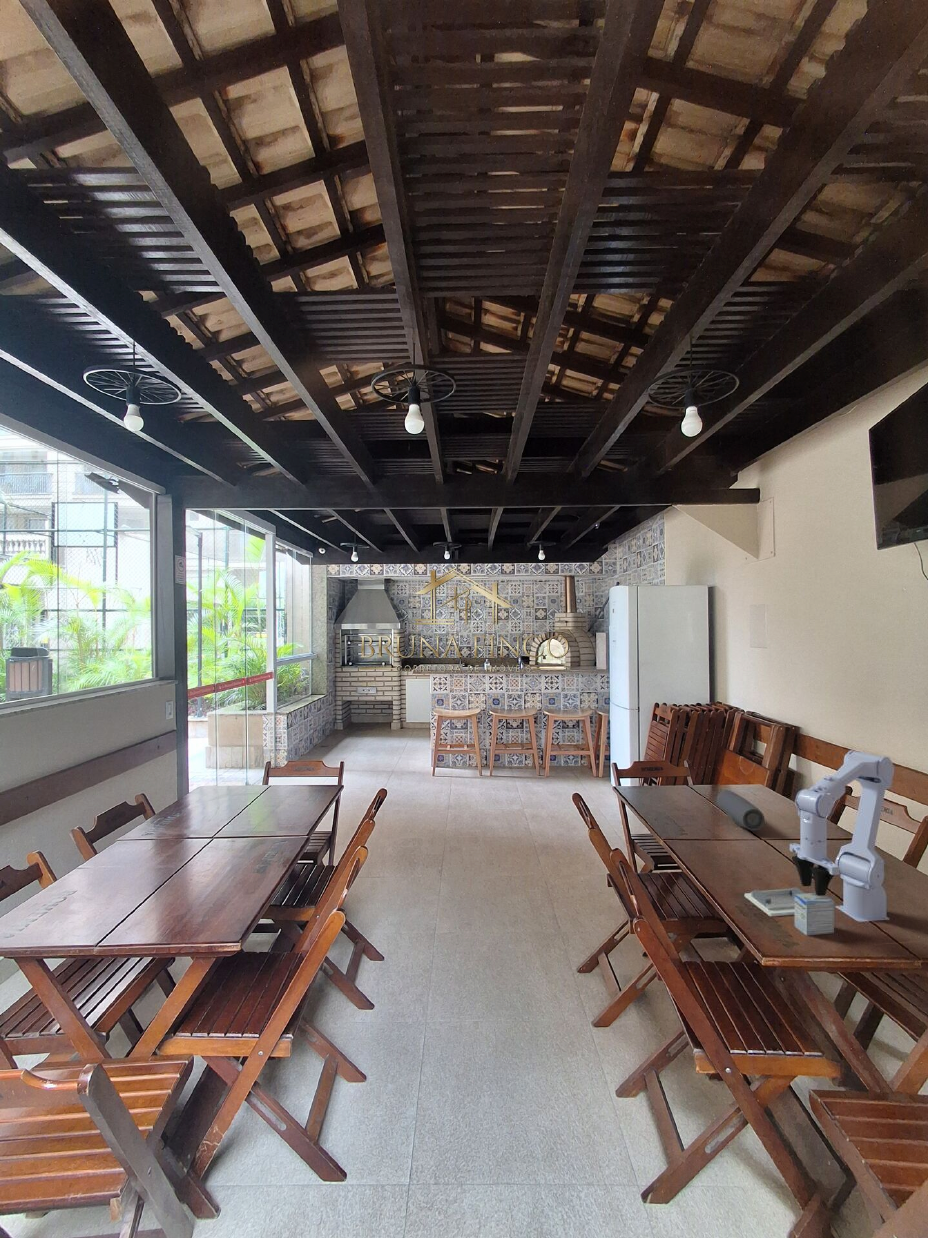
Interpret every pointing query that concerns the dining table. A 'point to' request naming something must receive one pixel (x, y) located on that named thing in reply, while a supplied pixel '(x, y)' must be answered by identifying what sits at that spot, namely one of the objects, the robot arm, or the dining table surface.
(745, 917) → the dining table surface
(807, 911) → the medicine box
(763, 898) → the white flat tray
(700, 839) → the dining table surface
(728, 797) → the bluetooth speaker
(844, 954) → the dining table surface
